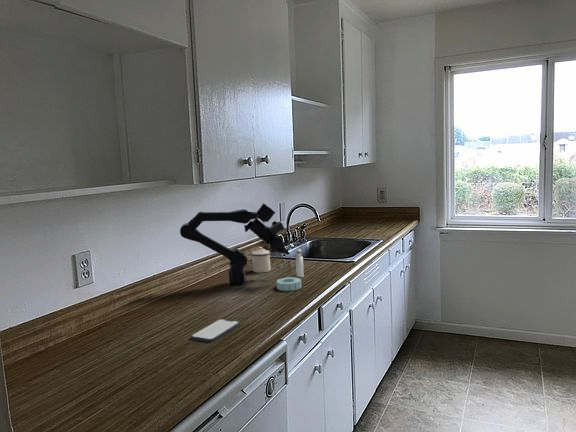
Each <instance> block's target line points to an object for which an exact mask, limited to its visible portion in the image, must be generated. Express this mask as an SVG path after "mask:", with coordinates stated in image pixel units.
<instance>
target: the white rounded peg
mask: <svg viewBox="0 0 576 432" xmlns="http://www.w3.org/2000/svg"><path fill="white" fill-rule="evenodd" d="M295 266H296V267H295V268H296V270H295V271H296V278H304V277H305V272H304V271H305V270H304V257H303V256H302V249H301V248H297V249H296V257H295Z"/></svg>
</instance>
